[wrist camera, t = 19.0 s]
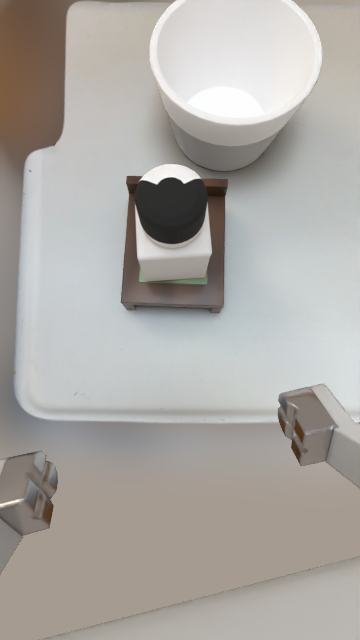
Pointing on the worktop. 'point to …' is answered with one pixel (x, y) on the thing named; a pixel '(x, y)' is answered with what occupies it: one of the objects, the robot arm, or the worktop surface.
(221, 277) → the shelf
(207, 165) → the bowl
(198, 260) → the medicine bottle
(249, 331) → the worktop surface
